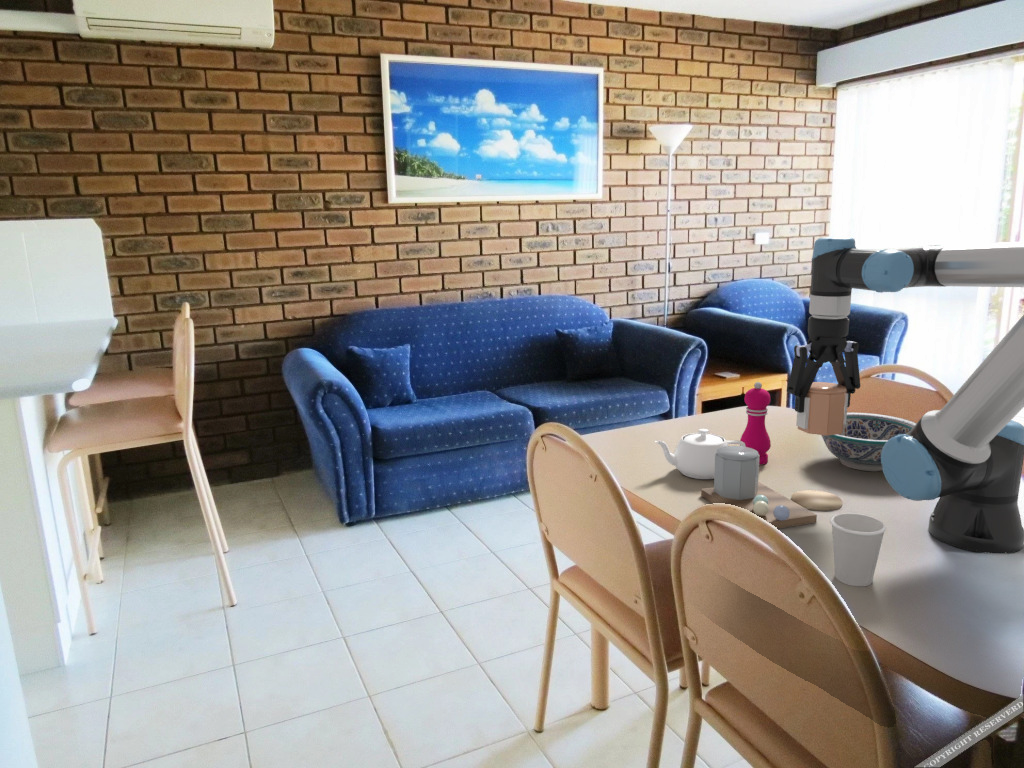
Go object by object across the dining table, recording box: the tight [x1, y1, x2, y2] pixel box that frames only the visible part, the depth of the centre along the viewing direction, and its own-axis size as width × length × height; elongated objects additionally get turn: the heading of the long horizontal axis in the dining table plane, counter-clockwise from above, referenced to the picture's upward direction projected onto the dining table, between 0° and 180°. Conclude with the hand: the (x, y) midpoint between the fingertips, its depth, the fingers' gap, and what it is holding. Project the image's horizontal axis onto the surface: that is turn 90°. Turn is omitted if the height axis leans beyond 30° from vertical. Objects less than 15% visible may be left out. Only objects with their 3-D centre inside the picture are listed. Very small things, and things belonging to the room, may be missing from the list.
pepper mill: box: [739, 381, 772, 466], centre depth 179 cm, size 7×7×20 cm
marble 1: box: [753, 495, 769, 505], centre depth 148 cm, size 3×3×3 cm
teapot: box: [654, 428, 746, 480], centre depth 173 cm, size 22×14×11 cm, turn 95°
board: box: [700, 481, 818, 529], centre depth 153 cm, size 20×14×2 cm
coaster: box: [790, 489, 843, 512], centre depth 155 cm, size 10×10×1 cm
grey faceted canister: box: [713, 445, 760, 500], centre depth 157 cm, size 8×8×9 cm
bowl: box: [820, 411, 917, 472], centre depth 176 cm, size 25×25×10 cm
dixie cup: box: [829, 512, 887, 587], centre depth 122 cm, size 8×8×10 cm
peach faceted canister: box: [797, 381, 847, 436], centre depth 151 cm, size 8×8×9 cm
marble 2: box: [753, 501, 769, 516], centre depth 145 cm, size 3×3×3 cm
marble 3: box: [773, 505, 790, 521], centre depth 143 cm, size 3×3×3 cm
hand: (821, 424), depth 152 cm, fingers closed on peach faceted canister, 8 cm apart
